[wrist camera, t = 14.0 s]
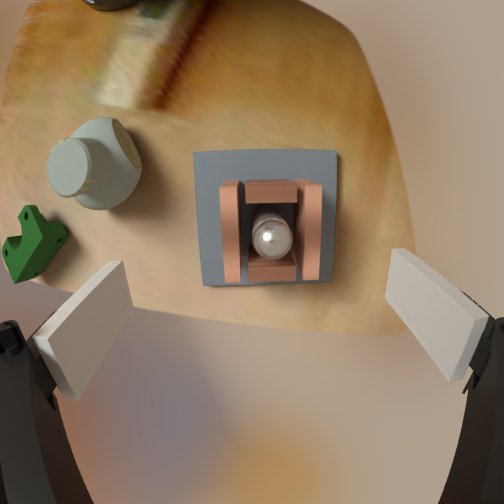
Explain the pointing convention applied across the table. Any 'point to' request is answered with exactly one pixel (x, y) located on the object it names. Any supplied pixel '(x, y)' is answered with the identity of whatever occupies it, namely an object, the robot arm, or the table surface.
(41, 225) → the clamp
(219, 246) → the post board
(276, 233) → the steel post
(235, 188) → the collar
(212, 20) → the table surface
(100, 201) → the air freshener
